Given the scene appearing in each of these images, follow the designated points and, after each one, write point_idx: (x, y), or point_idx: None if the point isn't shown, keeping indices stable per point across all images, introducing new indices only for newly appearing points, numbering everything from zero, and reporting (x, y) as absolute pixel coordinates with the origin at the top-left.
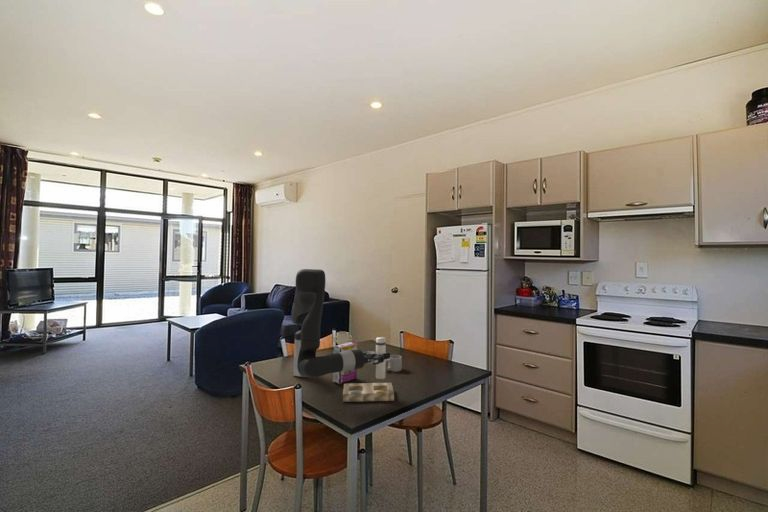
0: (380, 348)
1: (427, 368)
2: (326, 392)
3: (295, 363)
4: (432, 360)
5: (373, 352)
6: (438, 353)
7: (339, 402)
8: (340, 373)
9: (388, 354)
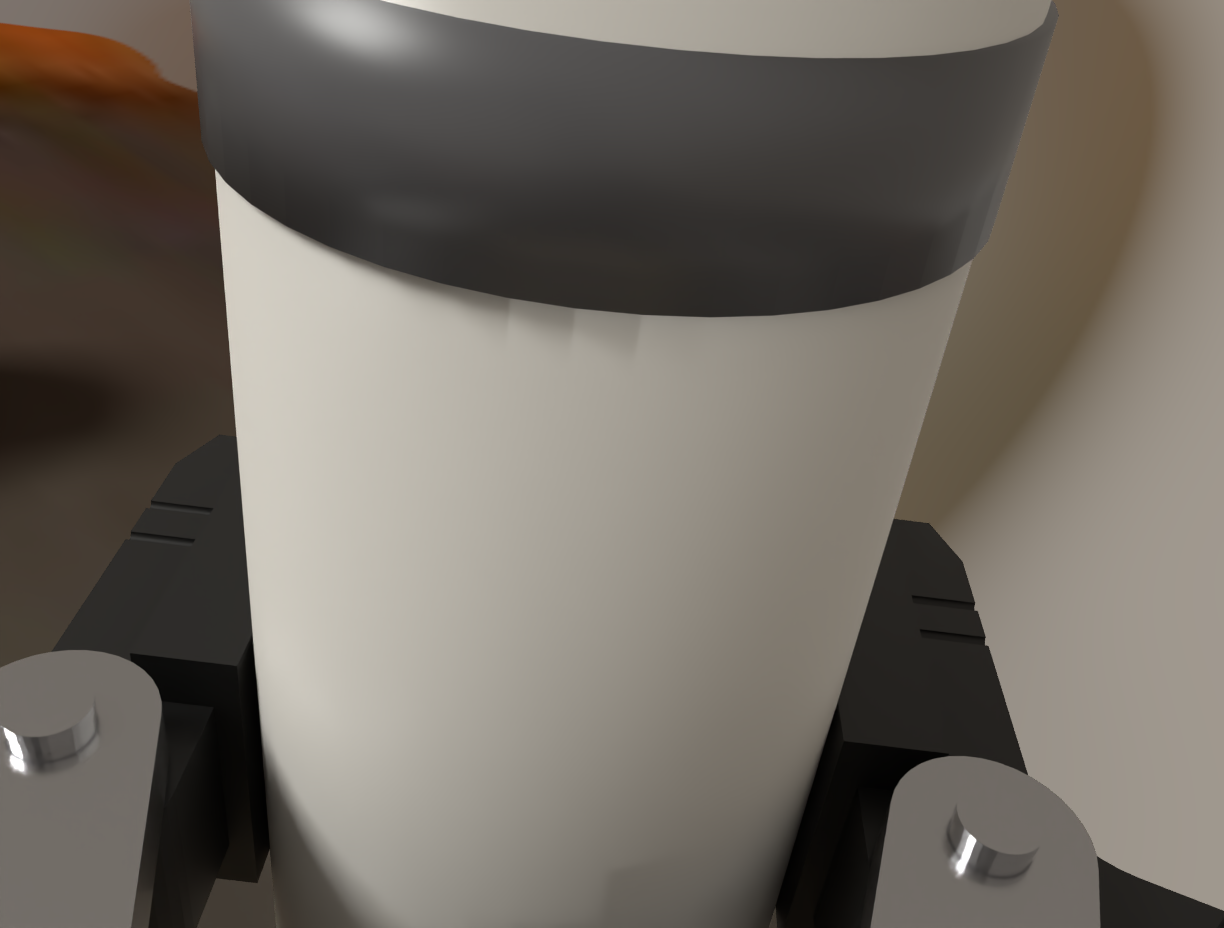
0: (871, 490)
1: (214, 249)
2: None
3: None
4: (106, 131)
5: (147, 858)
6: (42, 41)
7: None
8: None
9: (917, 549)
